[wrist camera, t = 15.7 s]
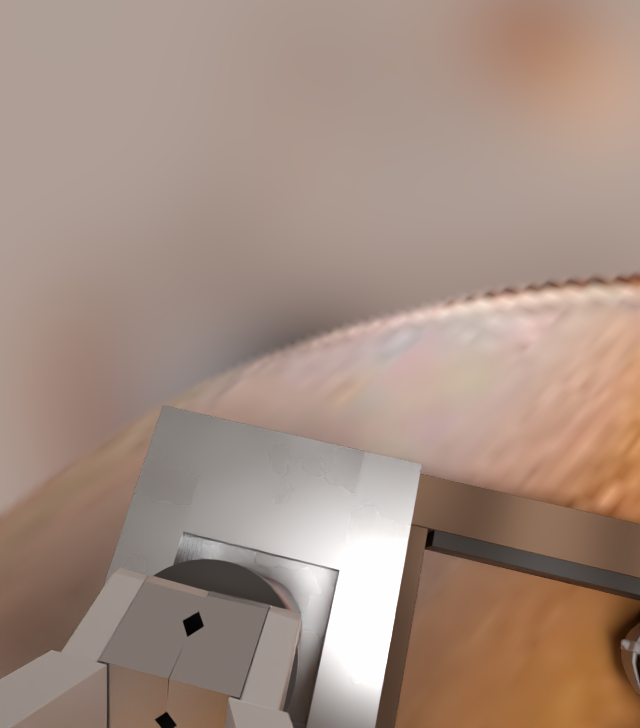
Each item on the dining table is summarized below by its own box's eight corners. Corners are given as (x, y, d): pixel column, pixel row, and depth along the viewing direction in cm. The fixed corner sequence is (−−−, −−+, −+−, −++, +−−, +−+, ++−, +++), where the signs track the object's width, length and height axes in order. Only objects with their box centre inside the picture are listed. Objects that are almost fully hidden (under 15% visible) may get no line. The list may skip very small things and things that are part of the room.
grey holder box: (157, 724, 24) (11, 848, 13) (228, 474, 28) (160, 400, 16) (333, 772, 24) (340, 946, 12) (384, 511, 27) (426, 461, 16)
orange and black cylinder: (181, 674, 17) (73, 744, 10) (214, 556, 18) (138, 539, 11) (294, 704, 17) (269, 799, 9) (321, 582, 18) (317, 583, 10)
